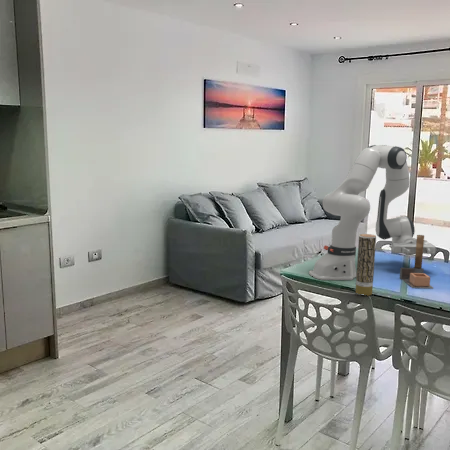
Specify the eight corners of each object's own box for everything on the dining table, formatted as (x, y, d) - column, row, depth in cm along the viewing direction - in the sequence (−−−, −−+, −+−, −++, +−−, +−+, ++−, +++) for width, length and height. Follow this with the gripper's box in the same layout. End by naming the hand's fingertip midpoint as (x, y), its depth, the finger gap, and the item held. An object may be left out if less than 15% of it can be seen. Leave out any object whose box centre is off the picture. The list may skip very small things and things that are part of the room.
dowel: (416, 277, 239) (419, 236, 236) (412, 275, 242) (415, 234, 239) (422, 277, 240) (425, 236, 236) (418, 275, 243) (421, 234, 239)
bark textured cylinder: (372, 297, 207) (376, 237, 203) (355, 295, 209) (359, 236, 205) (371, 292, 214) (375, 234, 210) (354, 291, 215) (358, 233, 211)
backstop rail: (434, 288, 221) (435, 277, 220) (411, 288, 221) (412, 276, 221) (421, 278, 237) (422, 268, 236) (399, 278, 237) (400, 267, 236)
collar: (429, 286, 222) (430, 277, 222) (414, 285, 222) (415, 276, 222) (424, 281, 229) (424, 273, 228) (409, 281, 229) (410, 273, 228)
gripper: (388, 239, 252) (397, 244, 239) (429, 240, 252) (440, 246, 239) (387, 251, 254) (396, 257, 240) (428, 252, 253) (439, 259, 240)
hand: (418, 252), depth 239 cm, fingers open, 8 cm apart
